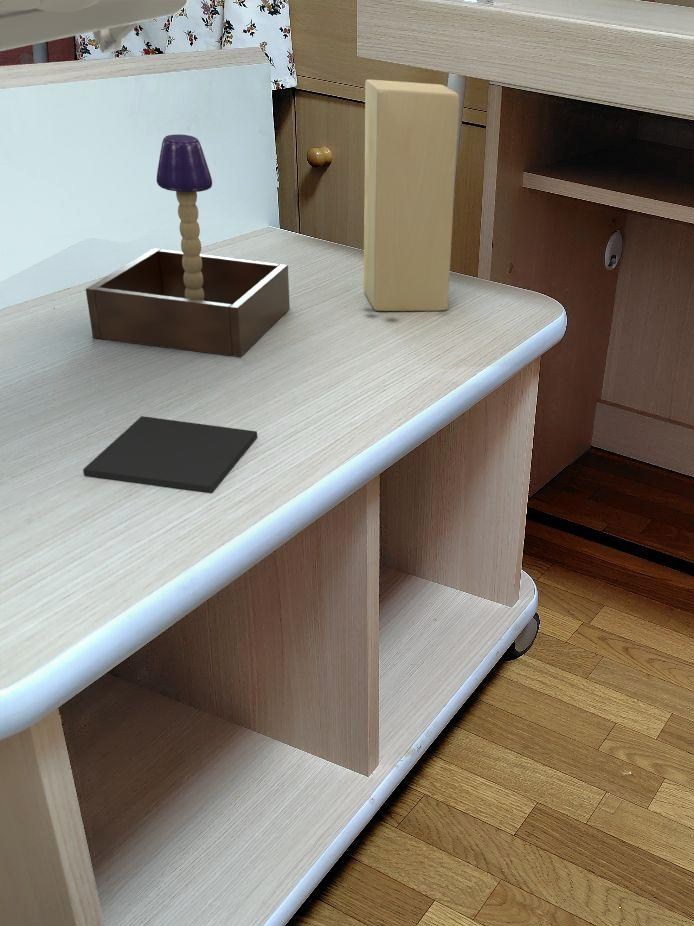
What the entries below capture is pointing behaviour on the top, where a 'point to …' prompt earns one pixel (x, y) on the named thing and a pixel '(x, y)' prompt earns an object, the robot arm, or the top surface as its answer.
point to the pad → (172, 454)
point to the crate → (189, 303)
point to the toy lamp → (186, 200)
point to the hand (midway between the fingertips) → (46, 56)
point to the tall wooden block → (409, 194)
